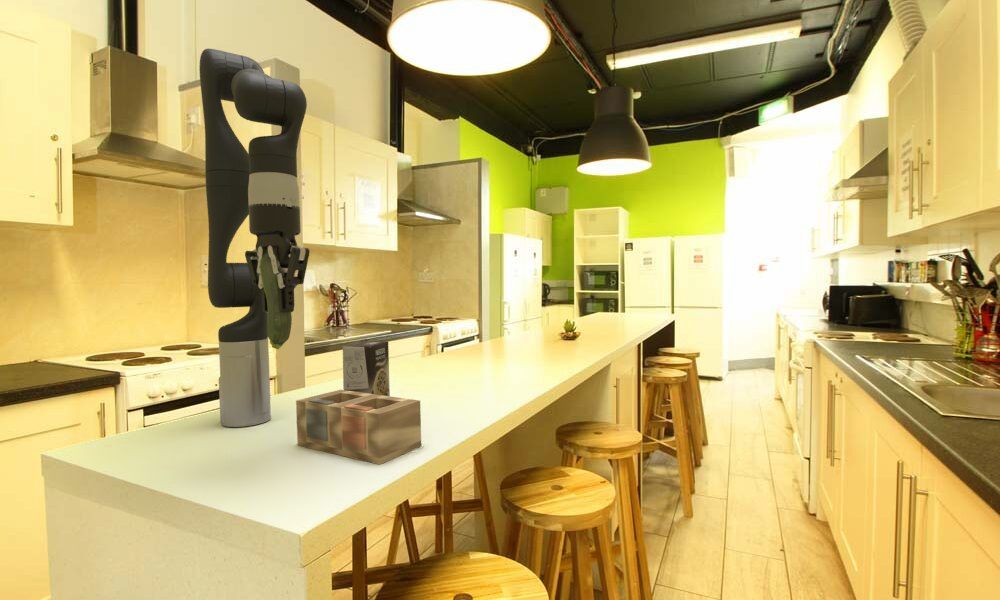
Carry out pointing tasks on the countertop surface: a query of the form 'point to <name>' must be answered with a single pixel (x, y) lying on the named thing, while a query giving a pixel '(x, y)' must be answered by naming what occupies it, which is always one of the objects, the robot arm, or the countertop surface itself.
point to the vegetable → (274, 305)
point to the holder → (359, 425)
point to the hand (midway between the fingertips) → (278, 311)
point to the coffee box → (366, 367)
